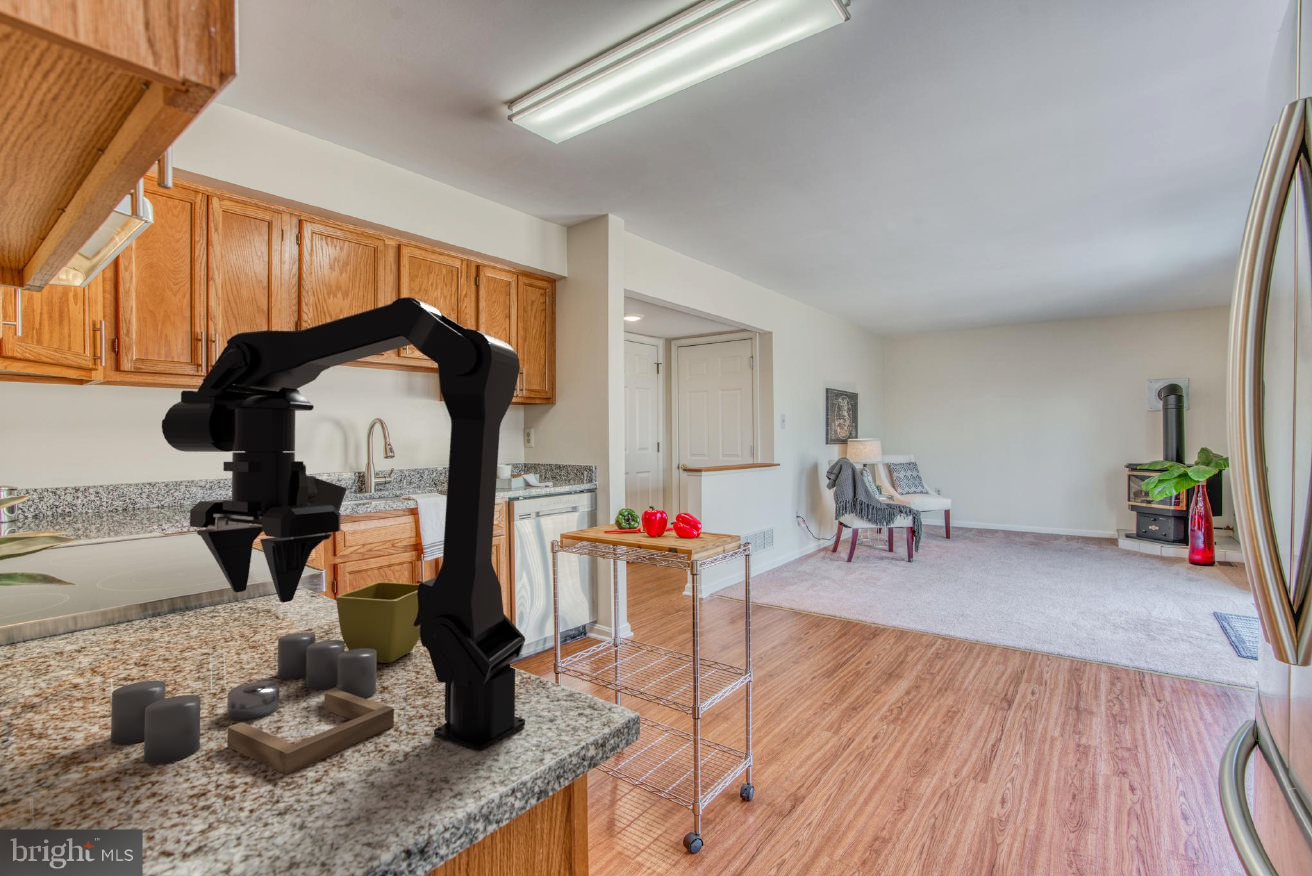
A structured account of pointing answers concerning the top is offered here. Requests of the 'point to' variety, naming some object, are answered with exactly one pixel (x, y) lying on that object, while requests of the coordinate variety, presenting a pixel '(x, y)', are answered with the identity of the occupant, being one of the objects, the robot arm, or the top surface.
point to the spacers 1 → (156, 721)
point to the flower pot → (380, 619)
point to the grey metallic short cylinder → (253, 701)
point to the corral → (292, 757)
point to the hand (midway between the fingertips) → (262, 596)
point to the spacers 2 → (327, 664)
